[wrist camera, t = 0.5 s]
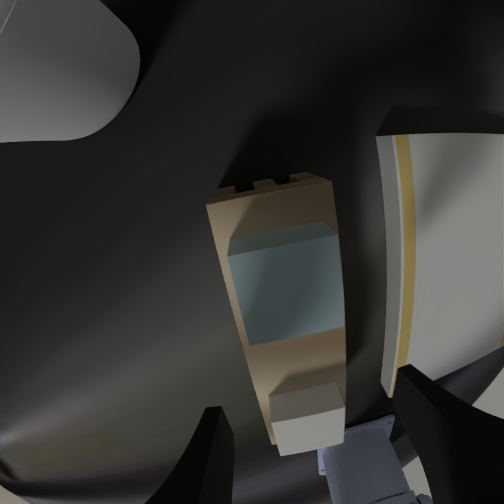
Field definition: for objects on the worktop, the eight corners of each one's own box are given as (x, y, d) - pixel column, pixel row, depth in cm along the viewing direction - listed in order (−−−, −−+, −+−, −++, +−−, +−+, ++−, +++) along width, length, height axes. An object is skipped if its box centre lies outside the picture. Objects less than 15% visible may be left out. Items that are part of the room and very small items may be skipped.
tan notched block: (328, 382, 21) (344, 429, 16) (267, 394, 21) (272, 444, 16) (305, 171, 16) (331, 181, 11) (216, 188, 16) (206, 205, 11)
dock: (495, 333, 21) (506, 343, 19) (380, 381, 21) (389, 398, 19) (512, 134, 14) (530, 136, 12) (375, 136, 15) (392, 135, 13)
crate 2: (336, 419, 16) (343, 442, 14) (277, 431, 16) (280, 455, 14) (335, 381, 15) (345, 407, 13) (268, 395, 15) (271, 422, 13)
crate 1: (331, 302, 13) (344, 326, 11) (248, 318, 13) (249, 345, 11) (322, 220, 12) (337, 234, 10) (229, 238, 12) (227, 256, 10)
